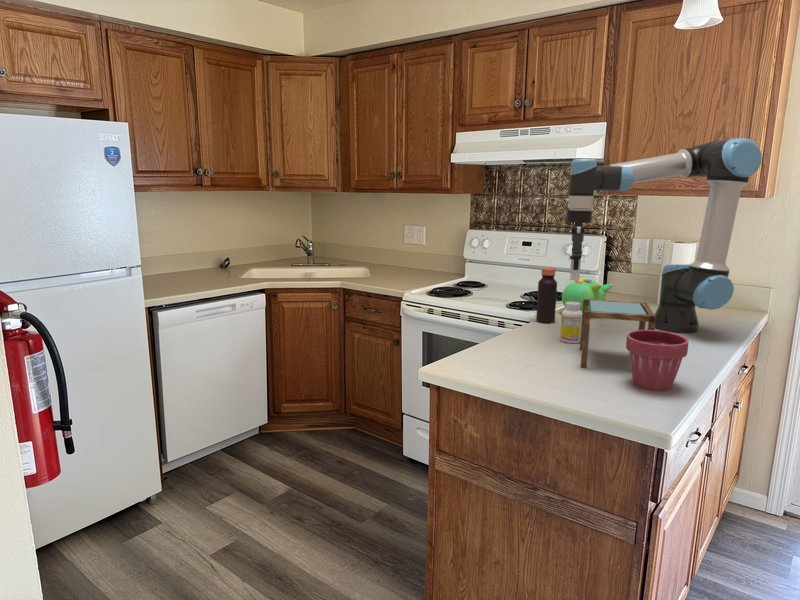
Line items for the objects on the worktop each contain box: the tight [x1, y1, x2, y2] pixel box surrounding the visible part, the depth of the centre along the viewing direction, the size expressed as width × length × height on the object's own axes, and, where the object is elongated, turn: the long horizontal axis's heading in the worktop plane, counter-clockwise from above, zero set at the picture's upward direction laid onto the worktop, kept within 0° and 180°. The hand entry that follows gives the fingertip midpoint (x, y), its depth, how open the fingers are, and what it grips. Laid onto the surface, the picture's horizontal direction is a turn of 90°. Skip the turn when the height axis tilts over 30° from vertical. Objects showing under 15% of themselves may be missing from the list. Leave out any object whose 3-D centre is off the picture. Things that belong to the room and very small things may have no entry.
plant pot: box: [625, 329, 689, 392], centre depth 140 cm, size 14×14×13 cm
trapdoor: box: [590, 300, 647, 315], centre depth 157 cm, size 14×15×1 cm
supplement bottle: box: [559, 302, 582, 344], centre depth 179 cm, size 7×7×13 cm
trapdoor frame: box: [579, 299, 656, 369], centre depth 159 cm, size 18×19×16 cm
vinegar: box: [535, 267, 558, 324], centre depth 204 cm, size 7×7×20 cm
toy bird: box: [561, 276, 614, 311], centre depth 217 cm, size 18×17×15 cm
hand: (574, 277), depth 176 cm, fingers open, 13 cm apart
